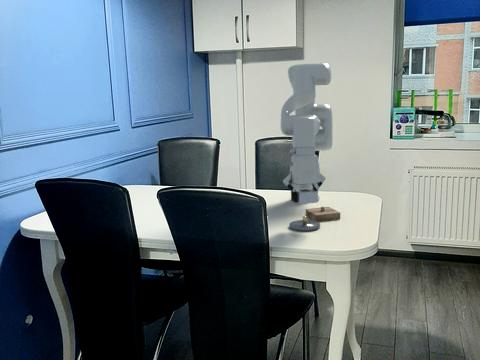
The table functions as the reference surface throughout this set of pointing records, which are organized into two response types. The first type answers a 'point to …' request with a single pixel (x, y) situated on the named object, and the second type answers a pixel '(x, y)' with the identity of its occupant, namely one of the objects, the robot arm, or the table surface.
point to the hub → (304, 225)
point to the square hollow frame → (306, 196)
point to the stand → (322, 214)
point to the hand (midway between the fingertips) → (304, 200)
